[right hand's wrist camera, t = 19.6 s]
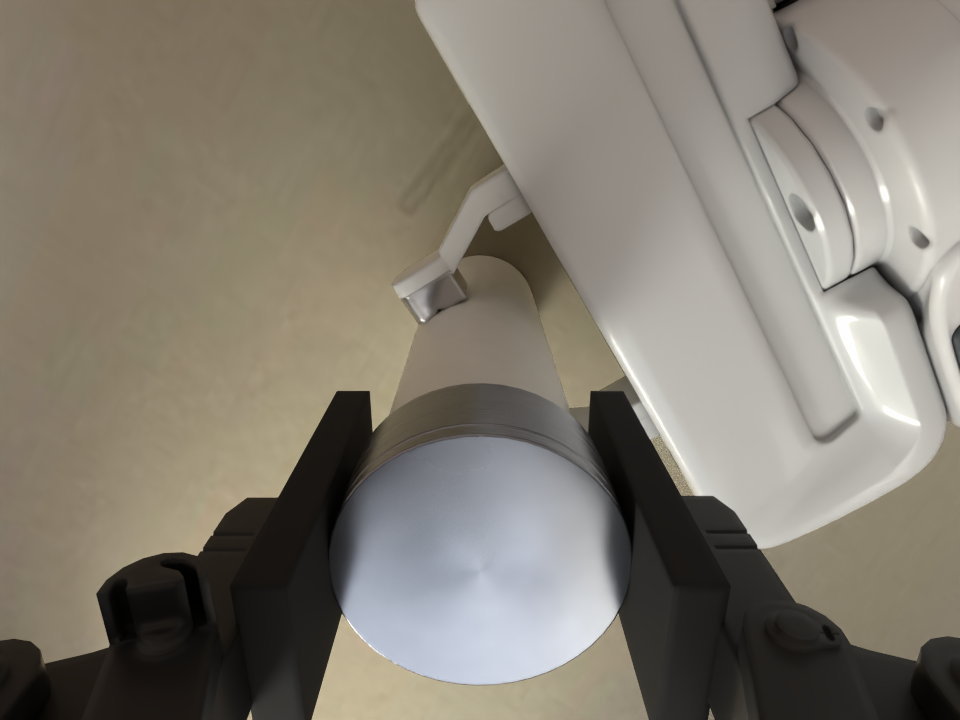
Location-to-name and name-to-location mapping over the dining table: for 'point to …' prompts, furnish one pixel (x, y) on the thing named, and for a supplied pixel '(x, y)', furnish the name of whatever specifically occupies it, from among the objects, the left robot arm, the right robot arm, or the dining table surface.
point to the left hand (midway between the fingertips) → (457, 376)
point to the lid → (480, 538)
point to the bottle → (483, 339)
